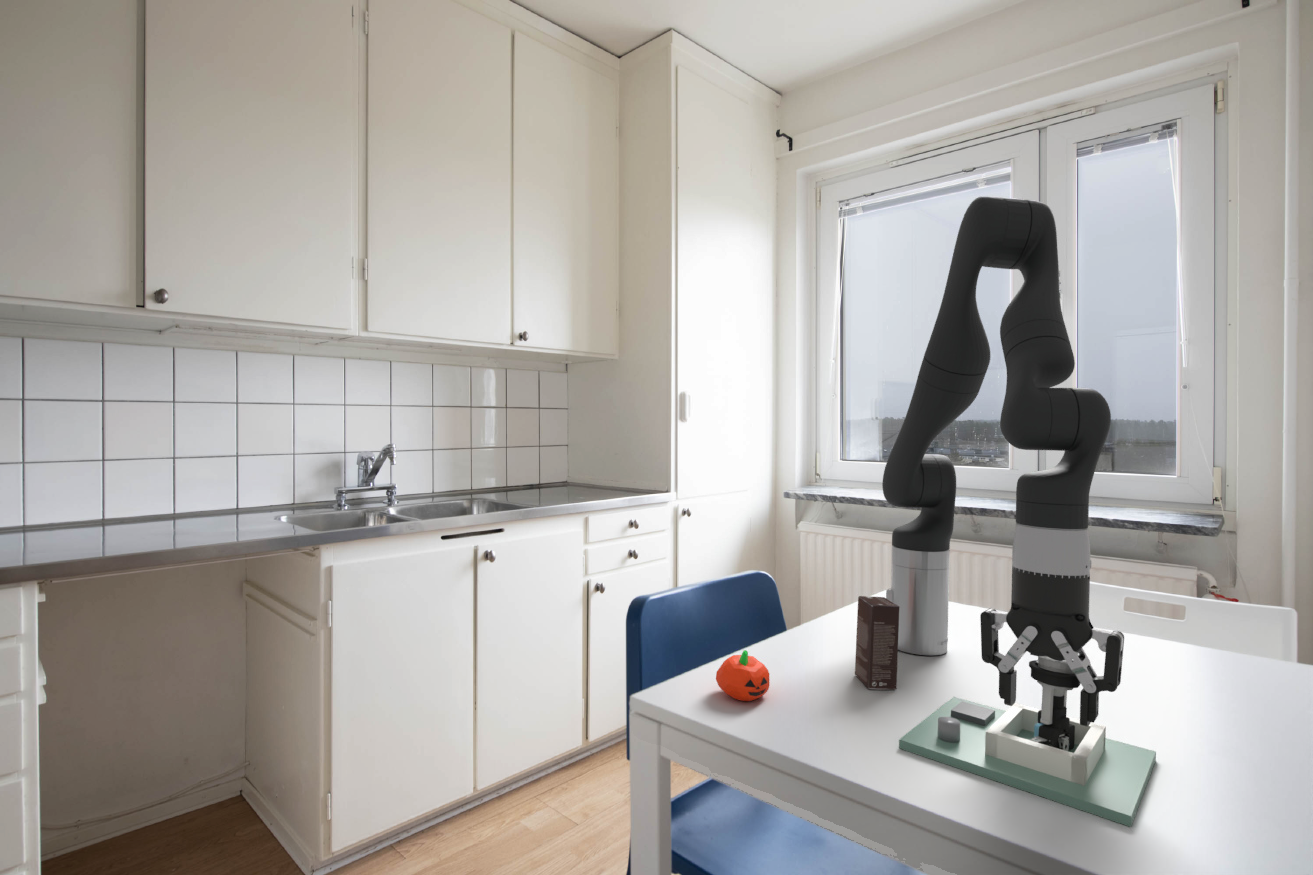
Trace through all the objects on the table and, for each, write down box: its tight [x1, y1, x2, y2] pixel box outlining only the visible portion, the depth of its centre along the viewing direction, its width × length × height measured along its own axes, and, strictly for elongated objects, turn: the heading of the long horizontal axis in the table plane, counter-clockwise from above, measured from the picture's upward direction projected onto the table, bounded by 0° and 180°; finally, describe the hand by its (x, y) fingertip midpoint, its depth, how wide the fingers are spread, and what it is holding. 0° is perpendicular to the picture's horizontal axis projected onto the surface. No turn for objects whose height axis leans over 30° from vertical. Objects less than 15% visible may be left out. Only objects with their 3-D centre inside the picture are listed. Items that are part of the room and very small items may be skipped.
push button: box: [1028, 656, 1081, 751], centre depth 75 cm, size 7×5×10 cm
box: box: [854, 595, 900, 691], centre depth 98 cm, size 6×4×12 cm
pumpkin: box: [715, 649, 770, 702], centre depth 92 cm, size 7×8×6 cm
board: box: [898, 696, 1157, 828], centre depth 76 cm, size 22×18×4 cm
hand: (1046, 712), depth 75 cm, fingers open, 7 cm apart
